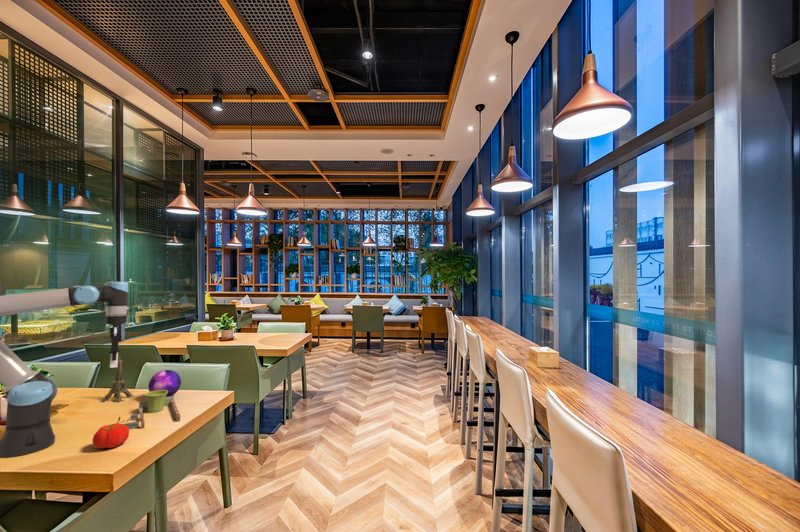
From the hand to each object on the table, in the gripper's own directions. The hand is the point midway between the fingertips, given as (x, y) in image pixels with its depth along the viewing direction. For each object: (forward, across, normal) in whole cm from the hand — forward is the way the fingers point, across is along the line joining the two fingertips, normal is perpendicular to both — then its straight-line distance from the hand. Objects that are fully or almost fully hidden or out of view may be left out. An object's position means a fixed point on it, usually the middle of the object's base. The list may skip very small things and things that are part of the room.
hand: (113, 367), depth 160 cm
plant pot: (+25, +5, -17) cm, 30 cm away
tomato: (+25, -30, -1) cm, 39 cm away
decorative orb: (+25, +26, -22) cm, 42 cm away
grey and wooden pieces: (+24, -3, -14) cm, 28 cm away
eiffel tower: (+25, +39, -2) cm, 46 cm away
